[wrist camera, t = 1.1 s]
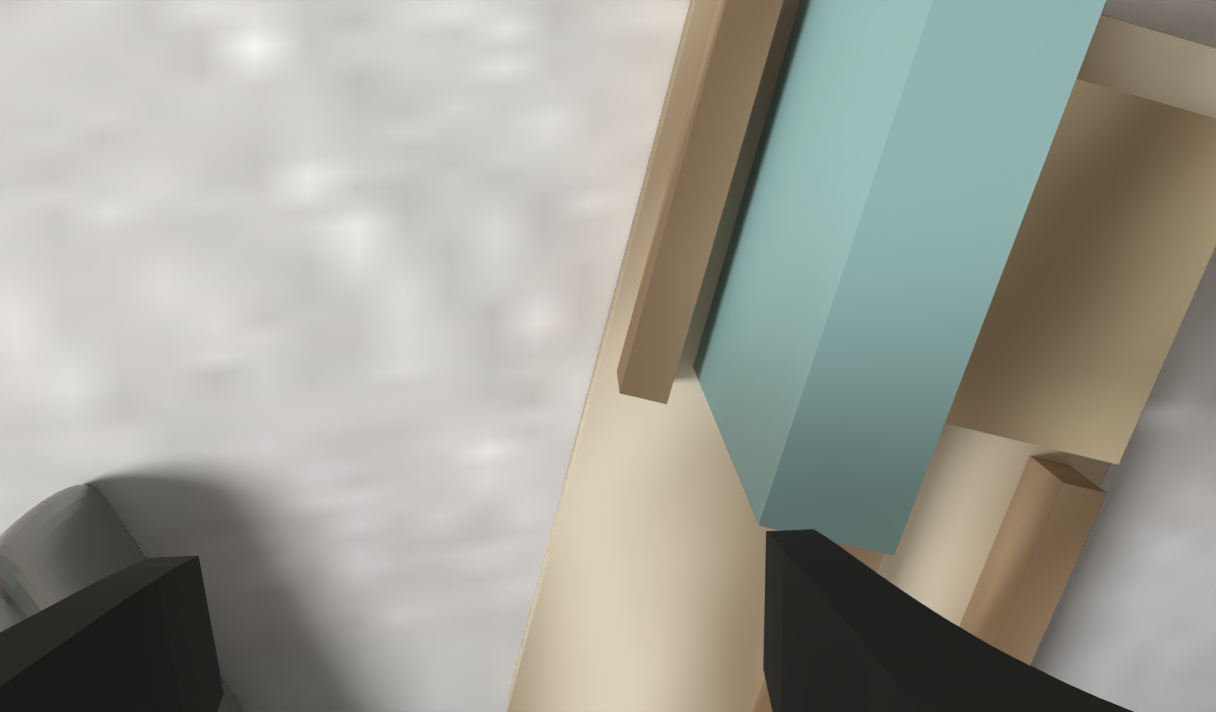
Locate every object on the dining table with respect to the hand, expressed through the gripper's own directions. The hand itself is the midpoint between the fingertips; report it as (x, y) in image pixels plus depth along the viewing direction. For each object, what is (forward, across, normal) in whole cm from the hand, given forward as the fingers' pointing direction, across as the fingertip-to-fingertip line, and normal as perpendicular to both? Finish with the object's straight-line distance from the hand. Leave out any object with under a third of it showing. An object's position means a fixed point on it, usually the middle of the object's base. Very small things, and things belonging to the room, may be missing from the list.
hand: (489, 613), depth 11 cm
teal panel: (+9, -6, -4) cm, 11 cm away
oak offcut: (+8, -11, -2) cm, 14 cm away
